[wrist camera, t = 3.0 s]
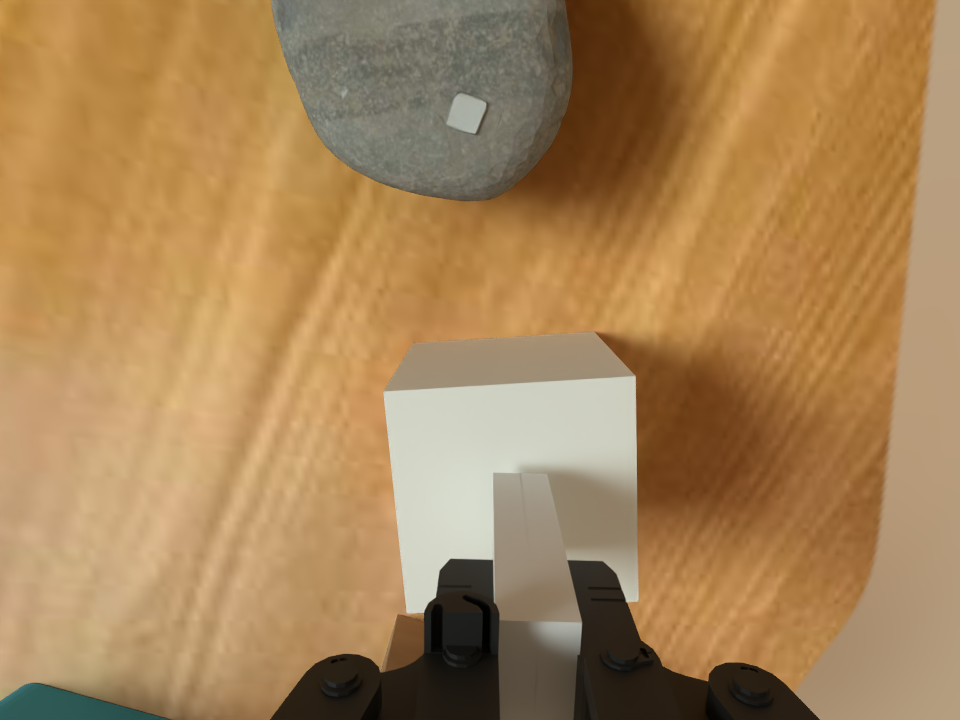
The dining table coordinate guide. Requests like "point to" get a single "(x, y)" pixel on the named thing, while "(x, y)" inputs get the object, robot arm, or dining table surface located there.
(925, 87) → the dining table surface
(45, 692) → the block
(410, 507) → the plain block
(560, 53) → the stone
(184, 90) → the dining table surface
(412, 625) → the marked block
